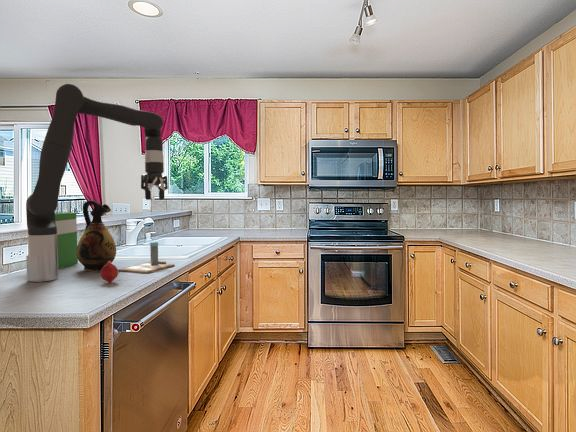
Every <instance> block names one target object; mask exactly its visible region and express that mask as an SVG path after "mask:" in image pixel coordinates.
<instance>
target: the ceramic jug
mask: <svg viewBox="0 0 576 432" xmlns="http://www.w3.org/2000/svg"><path fill="white" fill-rule="evenodd" d="M89 206H93V209H92V210H91V212H90V213H89V208H90V207H89ZM111 211H112V209H111V208H110V206H109V205H108V204H106V203H105V204H103V205H102V203H98V201H96V200H94V199H91V200H90V199H89V200H86V201H85V202H84V204H83V205H82V213H83V217H84V220H85V228H84V232H83V233H82V235H81V236H80V238H79V241H78V242H77V258H78V263H80V264H81V265H82V266H83V270H85V271H86V272H101V269H102V268H103V267H104V265H106V264H107V263H108V262H109V261H111V264H113V262H114V260H115V259H116V256H117V245H116V243H115V239H114V237H113V236H112V233H111V232H110V231H109V229H108V228H107V226H106V225H105V224H104V222H103V220H102V216H103V215H105V214H107V213H110V212H111ZM90 215H91V216H92V220H91V217H90Z"/></svg>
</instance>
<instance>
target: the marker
mask: <svg viewBox="0 0 576 432" xmlns="http://www.w3.org/2000/svg"><path fill="white" fill-rule="evenodd" d="M149 246H150V247H149V249H150V263H151V265H158V261H159V242H158V241H150V242H149Z"/></svg>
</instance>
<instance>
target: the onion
mask: <svg viewBox="0 0 576 432" xmlns="http://www.w3.org/2000/svg"><path fill="white" fill-rule="evenodd" d="M118 269H119V268H118V267H117V266H116V265H115V264H113V263H111V261H109V262H108V263H107V264H106V265H104V267H103V268H102V269H101V271H100V278H101V279H102V280H103V281H104V282H107V283H108V284H111V283H113V281H115V280H116V279H117V277H118V276H119V271H118Z"/></svg>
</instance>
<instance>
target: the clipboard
mask: <svg viewBox="0 0 576 432" xmlns="http://www.w3.org/2000/svg"><path fill="white" fill-rule="evenodd" d="M175 265H176V264H175V263H167V261H165V260H164V261H162V260H158V265H151V261H150V262H143V263H139V264H136V265H131V266H128V267H123V268H117V269H118V272H122V273H123V272H124V273H133V274H134V273H135V274H152V273H155V272H159V271H162V270H166V269H169V268H172V267H175Z"/></svg>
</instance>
